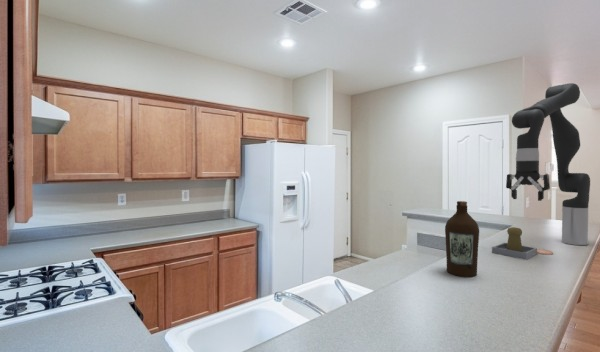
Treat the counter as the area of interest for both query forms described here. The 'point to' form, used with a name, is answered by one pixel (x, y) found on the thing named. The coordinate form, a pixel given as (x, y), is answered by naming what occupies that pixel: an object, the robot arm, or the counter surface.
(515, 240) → the cork
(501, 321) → the counter surface
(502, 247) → the bin frame
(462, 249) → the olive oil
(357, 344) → the counter surface
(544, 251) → the salmon pink disc
